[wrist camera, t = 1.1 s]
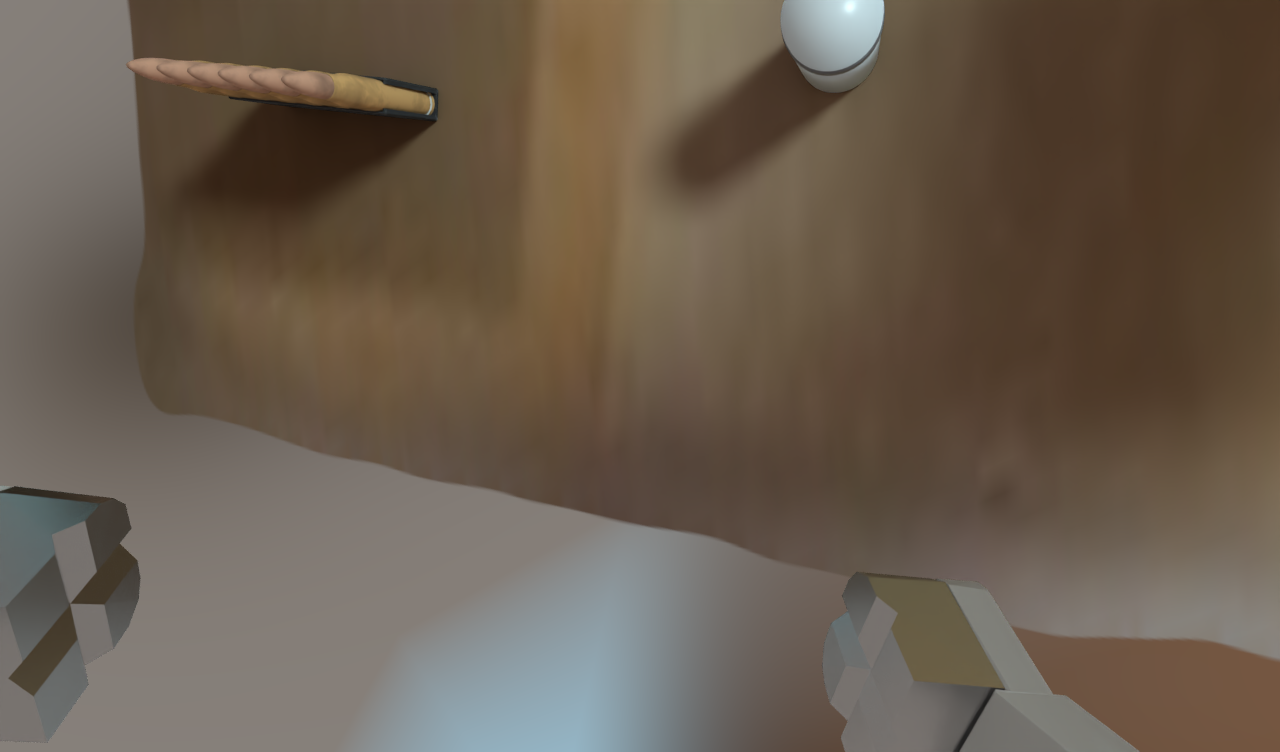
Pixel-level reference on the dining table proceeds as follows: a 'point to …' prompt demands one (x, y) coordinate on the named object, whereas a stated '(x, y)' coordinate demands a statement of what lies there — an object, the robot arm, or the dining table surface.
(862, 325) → the dining table surface
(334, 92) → the ammunition clip
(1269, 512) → the dining table surface
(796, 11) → the dome-capped cylinder
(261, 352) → the dining table surface
